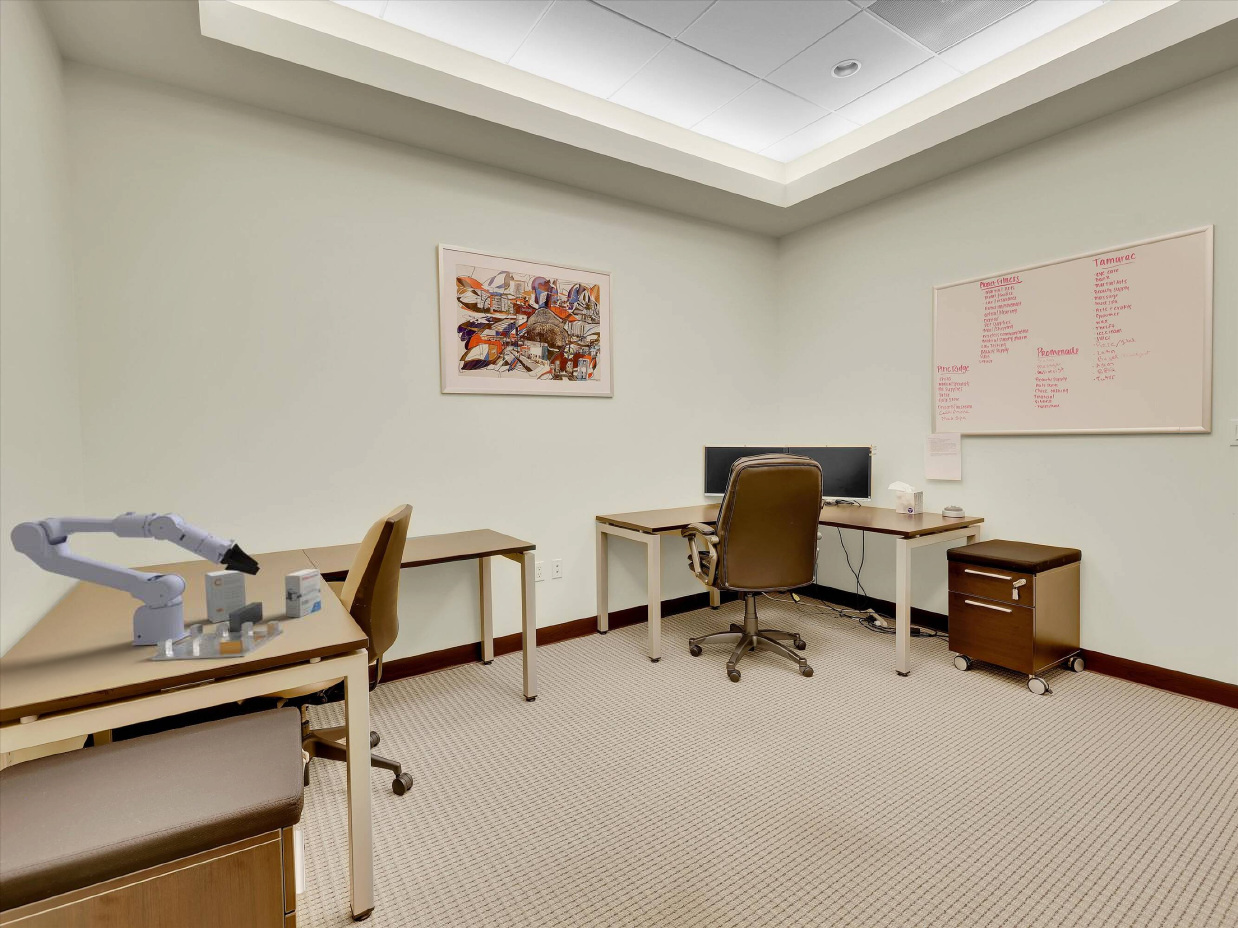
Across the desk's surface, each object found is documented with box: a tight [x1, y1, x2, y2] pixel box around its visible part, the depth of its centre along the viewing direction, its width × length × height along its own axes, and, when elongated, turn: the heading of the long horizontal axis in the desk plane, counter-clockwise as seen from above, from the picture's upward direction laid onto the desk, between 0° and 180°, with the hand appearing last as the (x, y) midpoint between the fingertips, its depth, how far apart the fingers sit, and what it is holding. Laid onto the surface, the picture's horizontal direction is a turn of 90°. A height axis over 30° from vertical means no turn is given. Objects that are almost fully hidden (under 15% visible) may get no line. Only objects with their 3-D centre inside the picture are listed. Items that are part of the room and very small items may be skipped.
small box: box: [204, 569, 247, 624], centre depth 163 cm, size 8×6×13 cm
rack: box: [151, 620, 284, 662], centre depth 140 cm, size 20×17×4 cm
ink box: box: [284, 568, 322, 618], centre depth 167 cm, size 9×5×12 cm, turn 168°
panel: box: [228, 601, 264, 632], centre depth 156 cm, size 2×11×5 cm, turn 4°
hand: (256, 569), depth 151 cm, fingers open, 7 cm apart
